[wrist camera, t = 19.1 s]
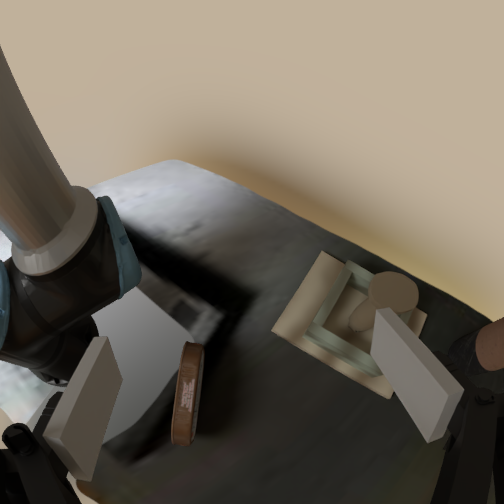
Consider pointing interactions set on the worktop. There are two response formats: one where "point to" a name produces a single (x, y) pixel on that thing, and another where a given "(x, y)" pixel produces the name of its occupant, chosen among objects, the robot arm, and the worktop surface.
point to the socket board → (337, 321)
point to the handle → (384, 299)
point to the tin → (188, 394)
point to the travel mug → (480, 350)
